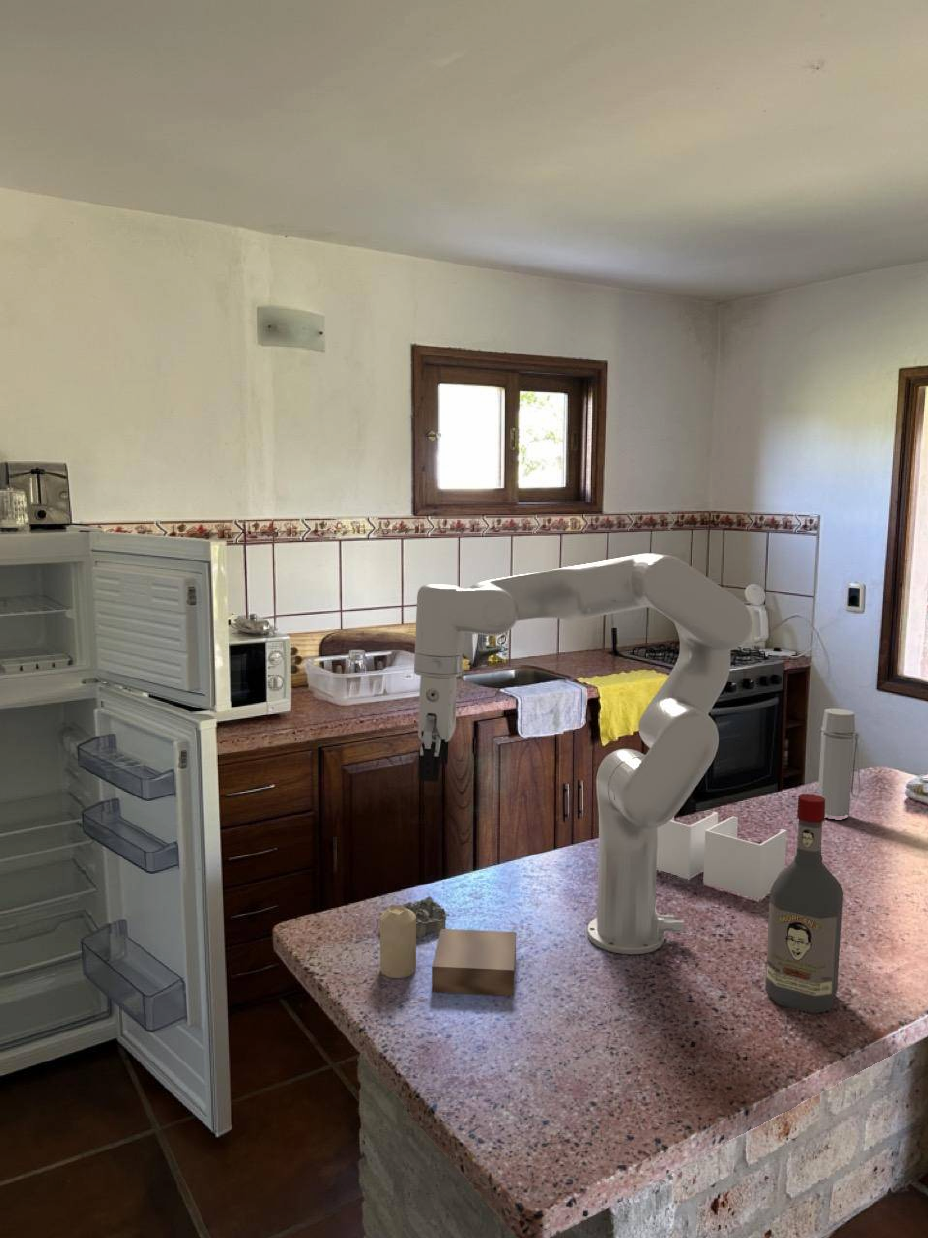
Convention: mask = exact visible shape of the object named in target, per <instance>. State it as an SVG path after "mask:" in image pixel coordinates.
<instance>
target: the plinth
mask: <svg viewBox="0 0 928 1238" xmlns="http://www.w3.org/2000/svg"><path fill="white" fill-rule="evenodd" d="M516 956H517V931H502V930H501V931H499V930H497V931H496V930H478V929H477V930H476V929H475V930H474V929H457V928H456V929H455V928H454V929H452V928H443V929H441V931H440V932H439V935H438V940H437V945H436V950H435V953H434V956H433V957H434V958H433V961H432V966H431V972H432V973H431V983H432V984H431V990H432V991H431V992H432V993H437V994H438V993H439V994H440V993H442V994H460V995H461V994H463V995H483V996H502V997H504V996H505V997H515V979H516V975H515V974H516V960H517V957H516Z"/></svg>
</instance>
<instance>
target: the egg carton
mask: <svg viewBox="0 0 928 1238" xmlns="http://www.w3.org/2000/svg"><path fill="white" fill-rule="evenodd" d="M398 906H402V907H404V908H407V909H409V910H411V911H412V912H413V913H414V914H415V915H416V937H419V938H422V937H425V936H426V933H429V932H435V933H440V931H441V929H445V928H446V927H445V926H446V920H447V917H450V914H449V913H446V911H445V909H444V908H442V907H441V905H439V903H438V902H437V901H435V900H434V898H433V897H432V896H430V895H429V896H427V897H425V898H424V899H421V900H420V901H419V900H418V901H416V900H415V901H414V902H412V901H408V902H406V903H404V904H398ZM389 907H390V906H385V907H383V908H382V909H381V910H380V912H379V913H378V917H380V916H381V915H382V914H383V913H384V912H385V911H386V910H387V909H388V908H389ZM428 931H429V932H428Z"/></svg>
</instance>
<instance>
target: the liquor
mask: <svg viewBox="0 0 928 1238" xmlns="http://www.w3.org/2000/svg"><path fill="white" fill-rule="evenodd" d="M796 811H797V813H796V815H797V816H796V817H797V819H798V827H797V828H798V829H797V842H796V853H795V856H794V857H793V859H794V860H792V862H791V863H789V864H788V865H787V866H785V869H784V870H783V871H782V872H780V874H779V876H778V877H777V879H776V881H775V882H774V884H773V886H772V888H771V891H770V895H769V902H768V903H769V906H768V925H767V926H768V927H767V929H768V930H767V942H766V943H767V946H766V966H765V967H766V968H765V988H764V989H765V991H766V994H767V996H768V997H769V998H770V999H772V1001H774V1002H775V1003H776V1005H778V1004H780V1005H779V1006H782V1005H784V1006H783V1007H785V1008H786V1007H787V1008H789V1007H790V1009H793V1008H794V1010H796V1009H797V1010H798V1011H800V1010H801V1011H800V1012H804V1011H805V1012H804V1013H807V1012H809V1014H811V1013H813V1014H812V1015H815V1014H814V1013H817V1014H820V1013H819V1012H824V1013H826V1012H825V1011H829V1012H830V1010H831V1009H832V1007H833V1004H834V1001H835V998H836V996H837V993H838V989H839V988H838V987H839V986H838V985H839V974H840V973H839V971H840V953H841V938H842V937H841V936H842V919H843V902H844V891H843V888H842V885H841V883H840V882H839V881H838V879H837V878H836V877H835V876H834V874H833V873H832V872H831V871H830V870H829V869H828V868H827V866H826V865H825V864H824V863H823V856H822V838H823V837H822V834H823V833H822V831H823V822H825V818H824V817H825V798H823V797H821V796H818V794H812V793H803V794H802V793H801V794H799V795H798V797H797V809H796Z"/></svg>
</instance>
